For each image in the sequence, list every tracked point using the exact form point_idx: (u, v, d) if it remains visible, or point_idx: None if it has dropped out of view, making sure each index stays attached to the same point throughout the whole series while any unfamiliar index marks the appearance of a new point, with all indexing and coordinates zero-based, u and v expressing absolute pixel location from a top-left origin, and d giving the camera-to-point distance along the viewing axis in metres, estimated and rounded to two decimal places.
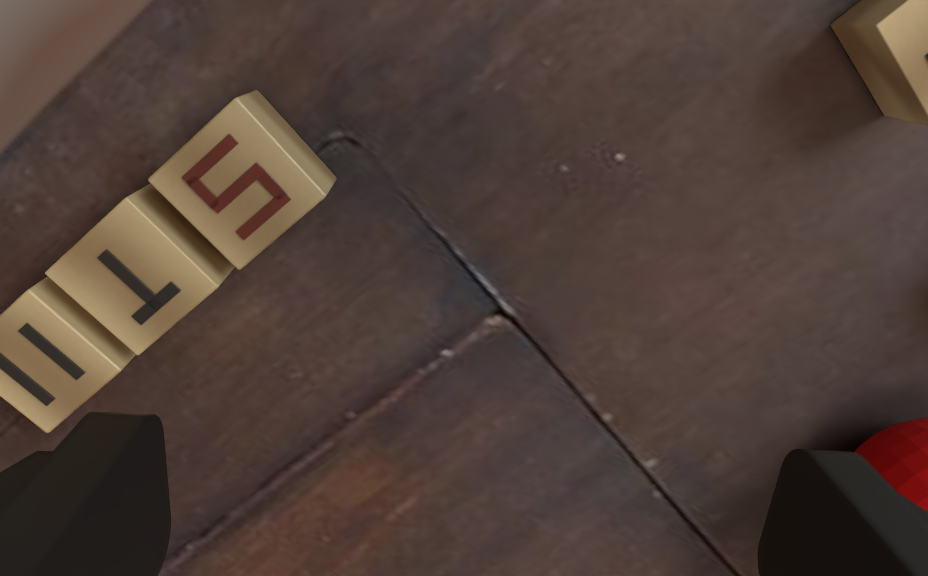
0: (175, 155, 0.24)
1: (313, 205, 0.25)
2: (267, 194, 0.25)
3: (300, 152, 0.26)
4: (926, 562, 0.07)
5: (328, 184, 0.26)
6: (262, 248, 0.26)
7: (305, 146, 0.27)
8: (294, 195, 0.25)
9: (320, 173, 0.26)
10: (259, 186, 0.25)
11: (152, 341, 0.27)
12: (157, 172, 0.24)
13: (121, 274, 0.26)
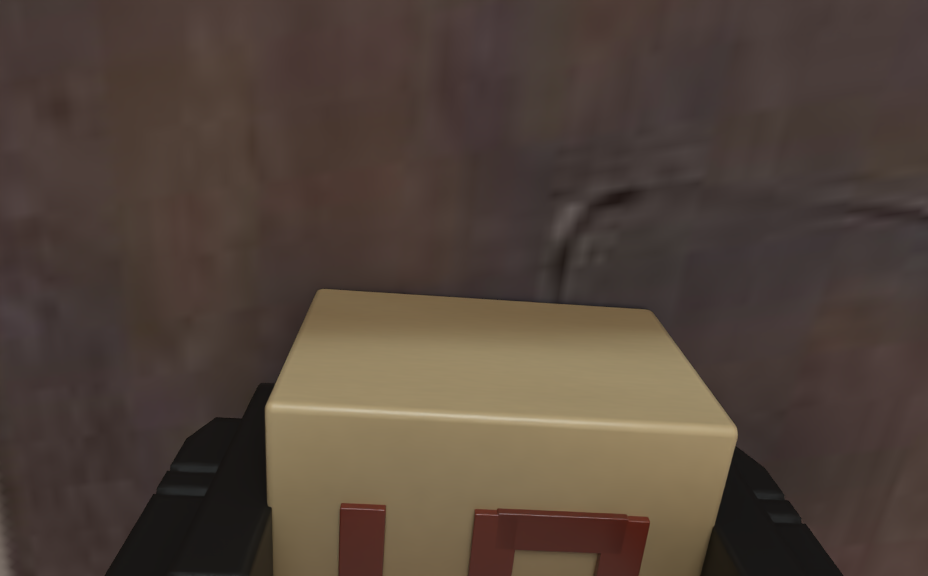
0: None
1: (723, 482, 0.07)
2: (574, 556, 0.07)
3: (543, 353, 0.08)
4: None
5: (681, 367, 0.08)
6: None
7: (527, 312, 0.09)
8: (649, 503, 0.07)
9: (633, 355, 0.08)
10: (537, 554, 0.07)
11: None
12: None
13: None
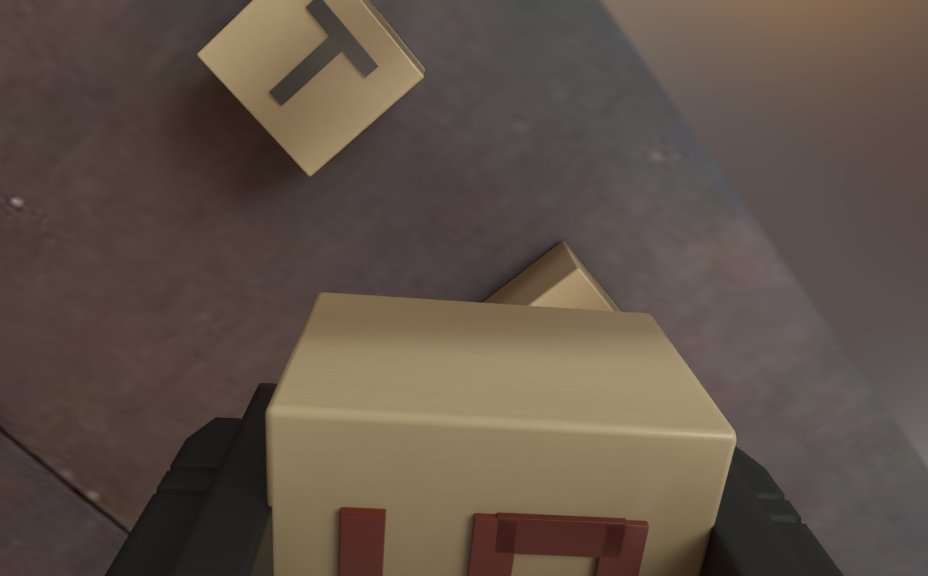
0: None
1: (722, 487, 0.07)
2: (573, 560, 0.07)
3: (543, 357, 0.08)
4: None
5: (680, 371, 0.08)
6: None
7: (527, 315, 0.09)
8: (647, 508, 0.07)
9: (632, 359, 0.08)
10: (535, 558, 0.07)
11: None
12: None
13: None
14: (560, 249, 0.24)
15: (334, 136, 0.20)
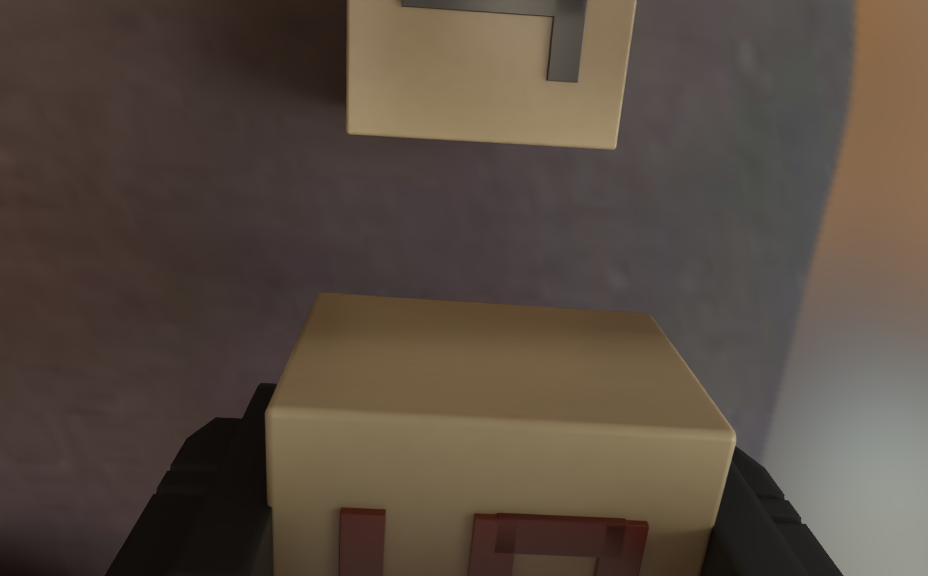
0: None
1: (722, 487, 0.07)
2: (572, 560, 0.07)
3: (542, 358, 0.08)
4: None
5: (680, 371, 0.08)
6: None
7: (527, 315, 0.09)
8: (647, 508, 0.07)
9: (632, 359, 0.08)
10: (535, 558, 0.07)
11: None
12: None
13: None
14: None
15: (433, 114, 0.11)
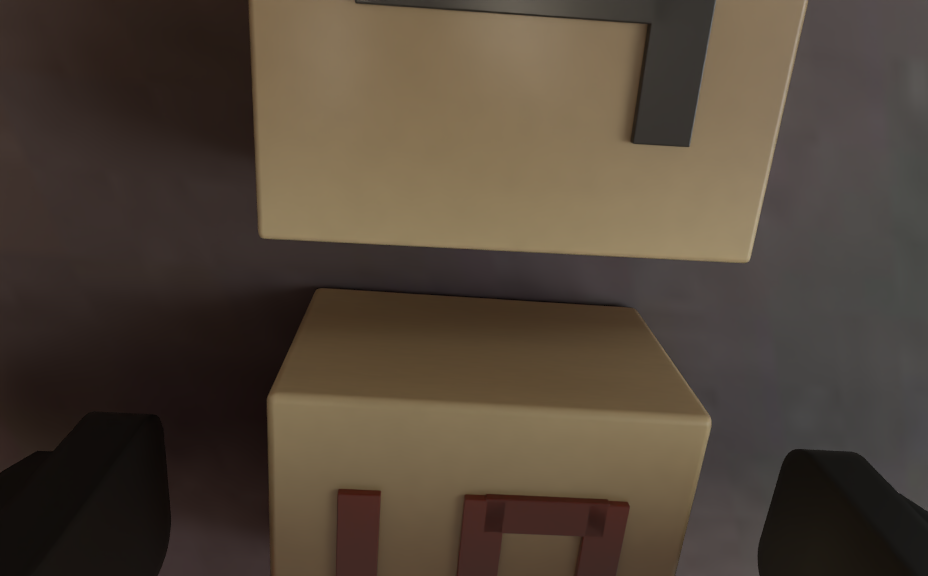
0: None
1: (698, 469, 0.07)
2: (558, 539, 0.07)
3: (530, 349, 0.08)
4: (926, 562, 0.07)
5: (661, 361, 0.08)
6: None
7: (517, 310, 0.09)
8: (628, 489, 0.07)
9: (616, 350, 0.08)
10: (522, 538, 0.07)
11: None
12: None
13: None
14: None
15: (418, 203, 0.06)
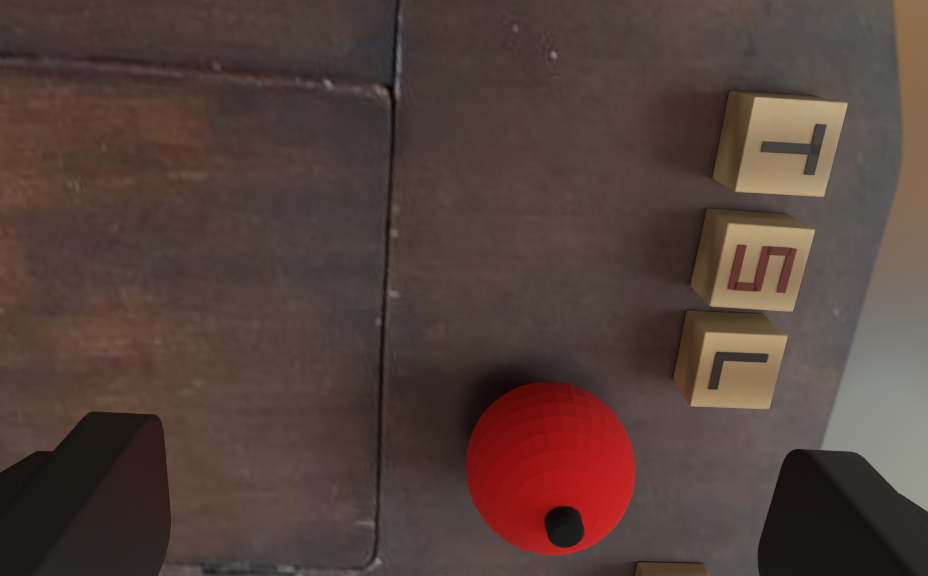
0: (716, 281, 0.35)
1: (811, 241, 0.35)
2: (780, 257, 0.35)
3: (770, 219, 0.36)
4: (926, 562, 0.07)
5: (800, 222, 0.36)
6: (798, 288, 0.36)
7: (759, 213, 0.37)
8: (796, 245, 0.35)
9: (789, 220, 0.36)
10: (773, 257, 0.35)
11: None
12: (712, 297, 0.36)
13: None
14: (763, 317, 0.39)
15: (764, 185, 0.34)
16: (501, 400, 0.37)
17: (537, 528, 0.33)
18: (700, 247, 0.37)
